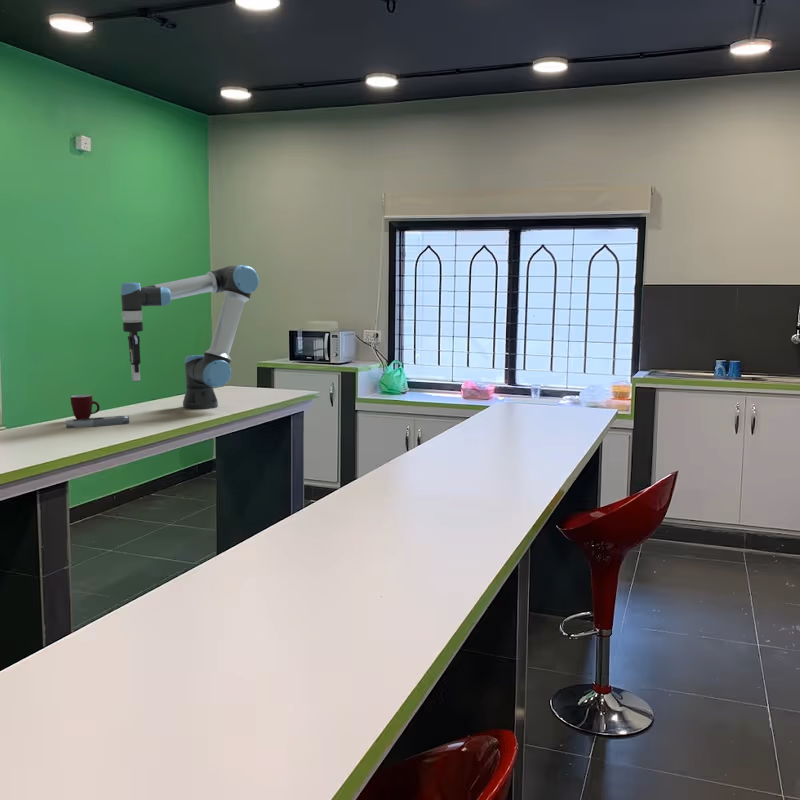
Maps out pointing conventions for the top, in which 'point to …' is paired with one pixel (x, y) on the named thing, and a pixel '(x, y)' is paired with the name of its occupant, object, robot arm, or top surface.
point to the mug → (83, 406)
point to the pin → (132, 367)
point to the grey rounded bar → (97, 421)
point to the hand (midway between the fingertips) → (136, 379)
